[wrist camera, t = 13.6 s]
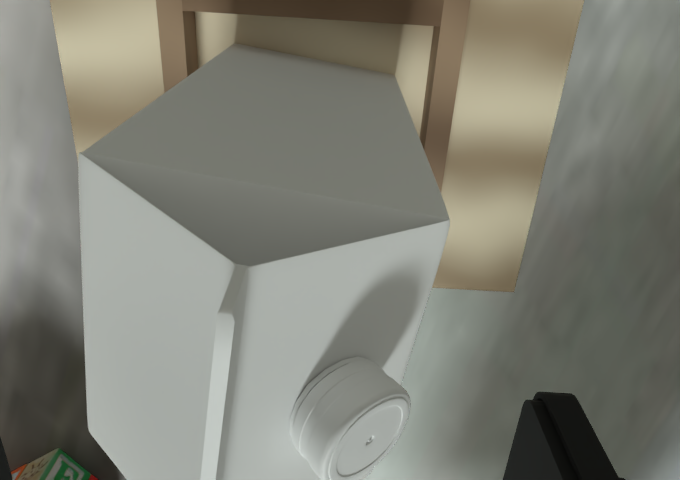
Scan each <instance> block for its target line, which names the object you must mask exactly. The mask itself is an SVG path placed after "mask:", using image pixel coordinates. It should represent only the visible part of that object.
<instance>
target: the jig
mask: <svg viewBox="0 0 680 480" xmlns="http://www.w3.org/2000/svg"><path fill="white" fill-rule="evenodd" d="M583 3H584V0H50V4H51V10H52V16H53V21H54V27H55V33H56V38H57V44H58V50H59V56H60V61H61V67H62V73H63V79H64V84H65V90H66V96H67V101H68V107H69V113H70V119H71V124H72V130H73V136H74V141H75V147H76V153H77V159H78V157H79V153H80V152H83V151H85V150H86V149H87V148H89V147H90V146H92V145H93V144H94V143H96V142H97V141H99V140H100V139H101V138H103V137H104V136H106V135H107V134H108V133H110V132H111V131H112V130H114V129H115V128H117V127H118V126H119V125H121V124H122V123H124V122H125V121H126V120H128V119H129V118H131V117H132V116H133V115H135V114H136V113H138V112H139V111H140V110H142V109H143V108H145V107H146V106H147V105H149V104H150V103H152V102H153V101H154V100H156V99H157V98H158V97H160V96H161V95H163V94H164V93H165V92H167V91H168V90H170V89H171V88H172V87H174V86H175V85H177V84H178V83H179V82H181V81H182V80H184V79H185V78H186V77H188V76H189V75H191V74H192V73H193V72H195V71H196V70H198V69H199V68H200V67H202V66H203V65H204V64H206V63H207V62H209V61H210V60H211V59H213V58H214V57H216V56H217V55H218V54H220V53H221V52H223V51H224V50H225V49H227V48H228V47H230V46H231V45H232V44H234V43H237V44H242V45H247V46H252V47H257V48H262V49H267V50H272V51H277V52H282V53H287V54H292V55H297V56H302V57H307V58H312V59H317V60H322V61H327V62H332V63H337V64H343V65H348V66H353V67H358V68H363V69H368V70H373V71H378V72H383V73H388V74H393V75H395V77H396V80H397V82H398V85H399V87H400V90H401V92H402V95H403V98H404V100H405V103H406V105H407V108H408V110H409V113H410V115H411V118H412V121H413V123H414V126H415V128H416V131H417V133H418V136H419V139H420V141H421V144H422V146H423V149H424V151H425V154H426V156H427V159H428V162H429V164H430V167H431V169H432V172H433V174H434V177H435V180H436V182H437V185H438V187H439V190H440V192H441V195H442V198H443V200H444V203H445V206H446V209H447V212H448V215H449V218H450V227H449V231H448V235H447V239H446V243H445V246H444V250H443V253H442V256H441V260H440V263H439V266H438V270H437V273H436V276H435V279H434V283H433V286H432V288H449V289H467V290H485V291H503V292H514V290H515V286H516V281H517V277H518V273H519V269H520V265H521V261H522V257H523V252H524V248H525V244H526V240H527V236H528V232H529V228H530V223H531V219H532V215H533V211H534V207H535V203H536V198H537V194H538V190H539V186H540V182H541V178H542V174H543V169H544V165H545V161H546V157H547V153H548V149H549V144H550V140H551V136H552V132H553V128H554V124H555V120H556V115H557V111H558V107H559V103H560V99H561V95H562V90H563V86H564V82H565V78H566V74H567V70H568V66H569V61H570V57H571V53H572V49H573V45H574V41H575V37H576V32H577V28H578V24H579V20H580V16H581V12H582V7H583Z"/></svg>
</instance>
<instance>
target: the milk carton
mask: <svg viewBox="0 0 680 480" xmlns="http://www.w3.org/2000/svg"><path fill="white" fill-rule="evenodd" d="M78 177H79V209H80V236H81V263H82V291H83V318H84V345H85V373H86V400H87V421H88V429H89V432H90V434H91V435H92V436H93V438H94V439H95V440H96V441H97V443H98V444H99V445H100V446H101V448H102V449H103V450H104V451H105V453H106V454H107V455H108V456H109V458H110V459H111V460H112V461H113V463H114V464H115V465H116V466H117V468H118V469H119V470H120V472H121V473H122V474H123V475H124V477H125V478H126V479H127V480H362V479H363V478H365V477H366V476H368V475H369V474H370V473H371V471H372V470H373V468H374V466H375V465H376V464H377V463H378V462H379V461H381V460H382V459H383V458H384V457H385V455H386V454H387V453H388V452H389V451H390V450H391V448H392V447H393V446H394V445H395V443H396V442H397V440H398V438H399V437H400V435H401V433H402V431H403V429H404V427H405V425H406V422H407V420H408V417H409V413H410V406H411V403H410V397H409V395H408V393H407V391H406V390H405V389H404V388H403V387H402V386H401V384H402V381H403V378H404V374H405V371H406V368H407V365H408V362H409V359H410V355H411V352H412V349H413V346H414V343H415V340H416V336H417V333H418V330H419V327H420V324H421V321H422V317H423V314H424V311H425V308H426V305H427V302H428V299H429V295H430V292H431V289H432V286H433V283H434V279H435V276H436V273H437V270H438V266H439V263H440V260H441V256H442V253H443V250H444V246H445V243H446V239H447V235H448V231H449V227H450V218H449V215H448V212H447V209H446V206H445V203H444V200H443V198H442V195H441V192H440V190H439V187H438V185H437V182H436V180H435V177H434V174H433V172H432V169H431V167H430V164H429V162H428V159H427V156H426V154H425V151H424V149H423V146H422V144H421V141H420V139H419V136H418V133H417V131H416V128H415V126H414V123H413V121H412V118H411V115H410V113H409V110H408V108H407V105H406V103H405V100H404V98H403V95H402V92H401V90H400V87H399V85H398V82H397V80H396V77H395V75H393V74H388V73H383V72H378V71H373V70H368V69H363V68H358V67H353V66H348V65H343V64H337V63H332V62H327V61H322V60H317V59H312V58H307V57H302V56H297V55H292V54H287V53H282V52H277V51H272V50H267V49H262V48H257V47H252V46H247V45H242V44H237V43H234V44H232V45H231V46H230V47H228V48H227V49H225V50H224V51H223V52H221V53H220V54H218V55H217V56H216V57H214V58H213V59H211V60H210V61H209V62H207V63H206V64H204V65H203V66H202V67H200V68H199V69H198V70H196V71H195V72H193V73H192V74H191V75H189V76H188V77H186V78H185V79H184V80H182V81H181V82H179V83H178V84H177V85H175V86H174V87H172V88H171V89H170V90H168V91H167V92H165V93H164V94H163V95H161V96H160V97H158V98H157V99H156V100H154V101H153V102H152V103H150V104H149V105H147V106H146V107H145V108H143V109H142V110H140V111H139V112H138V113H136V114H135V115H133V116H132V117H131V118H129V119H128V120H126V121H125V122H124V123H122V124H121V125H119V126H118V127H117V128H115V129H114V130H112V131H111V132H110V133H108V134H107V135H106V136H104V137H103V138H101V139H100V140H99V141H97V142H96V143H94V144H93V145H92V146H90V147H89V148H87V149H86V150H85V151H83V152H80V153H79V157H78Z"/></svg>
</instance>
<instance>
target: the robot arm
mask: <svg viewBox="0 0 680 480" xmlns="http://www.w3.org/2000/svg"><path fill="white" fill-rule="evenodd" d="M0 480H12V475H11V471H10V468H9V465H8V461H7V458H6V455H5V451H4V448H3V445H2V441H1V438H0ZM503 480H625V479H624V478H619V477H618V476H617V474H616V472H615V470H614V468H613V466H612V464H611V462H610V461H609V459H608V457H607V455H606V453H605V451H604V449H603V447H602V445H601V443H600V442H599V440H598V438H597V436H596V434H595V432H594V430H593V428H592V426H591V424H590V423H589V421H588V419H587V417H586V415H585V413H584V411H583V409H582V407H581V405H580V404H579V402H578V400H577V398H576V397H575V396H574V395H573V394H568V393H551V392H537V393H536V394H535V396H534V399H533V400H526V401H525V402H524V404H523V407H522V411H521V414H520V418H519V422H518V425H517V429H516V433H515V437H514V440H513V444H512V448H511V451H510V455H509V459H508V463H507V466H506V470H505V474H504V477H503Z"/></svg>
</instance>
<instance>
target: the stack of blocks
mask: <svg viewBox="0 0 680 480" xmlns="http://www.w3.org/2000/svg"><path fill="white" fill-rule="evenodd" d="M11 475H12V480H98V479H97V478H96V477H95V476H94V475H92V474H90V473H89V472H88V471H86V470H85V469H84V468H83V467H82V466H80V465H79V464H78V463H77V462H75V461H74V460H73V459H72V458H71V457H69V456H68V455H67V454H66V453H64V452H63V451H62V450H61V449H59V448H57V449H55V450H53V451H51V452H50V453H48V454H46V455H44V456H42V457H40V458H38V459H36V460H35V461H33V462H31V463H29V464H25V465H23V466H21V467H19V468H17V469H16V470H14V471H12V472H11Z"/></svg>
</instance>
